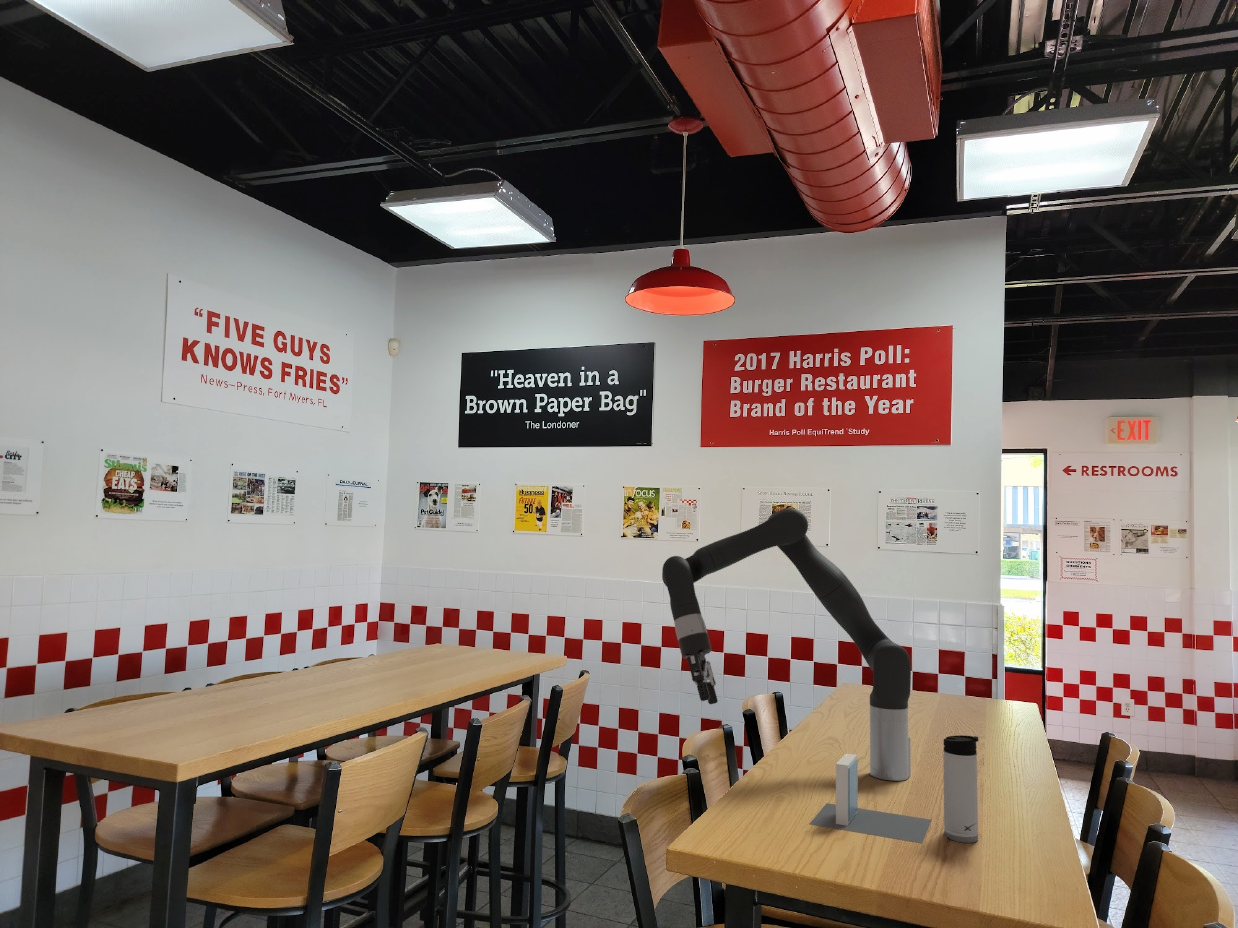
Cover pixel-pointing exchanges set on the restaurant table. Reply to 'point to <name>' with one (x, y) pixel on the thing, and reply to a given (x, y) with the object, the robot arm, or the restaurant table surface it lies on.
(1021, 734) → the restaurant table surface
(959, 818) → the travel mug
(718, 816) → the restaurant table surface
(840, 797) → the tile
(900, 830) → the mat
